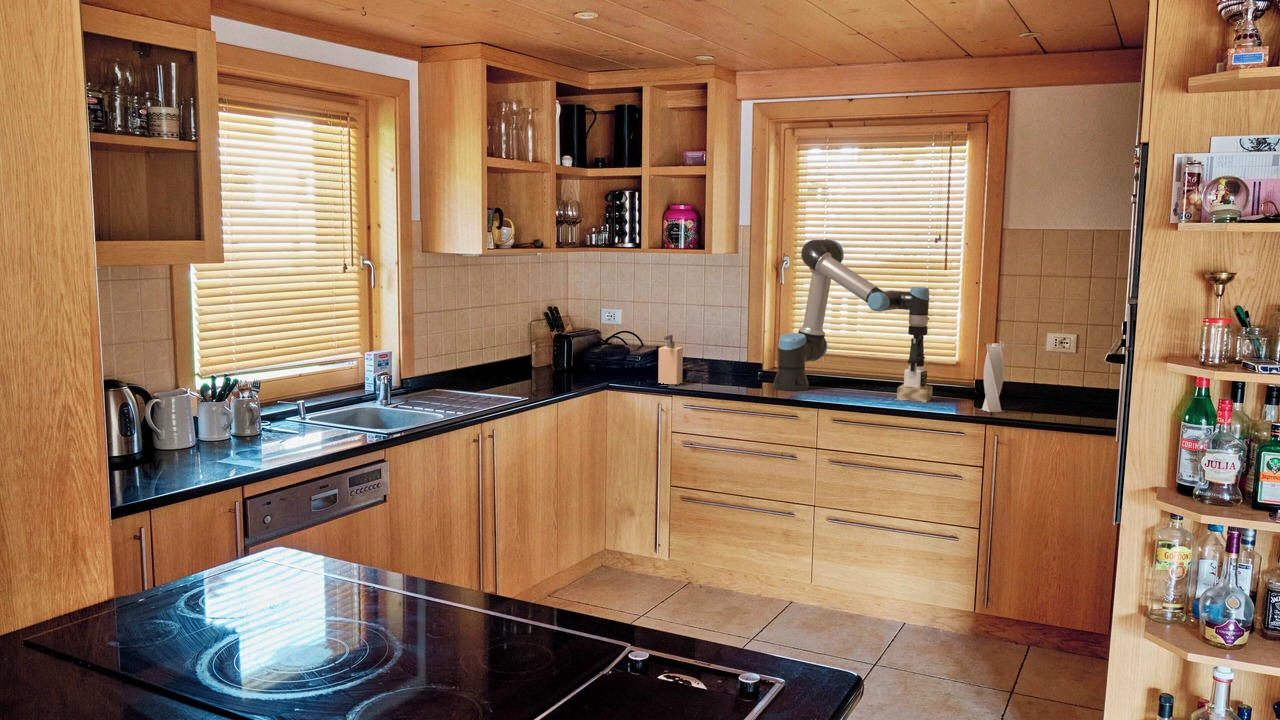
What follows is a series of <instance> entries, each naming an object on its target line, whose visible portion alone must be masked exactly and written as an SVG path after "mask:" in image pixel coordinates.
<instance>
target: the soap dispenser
mask: <svg viewBox="0 0 1280 720" xmlns="http://www.w3.org/2000/svg"><path fill="white" fill-rule="evenodd" d="M673 338H674V337H673V334H668V335H664V337H663V340H664V341H667V345H664V346H660V347H658V371H657V372H658V374H657V375H658V379H657V380H658V381H657V382H658V383H661V384H663V383H664V384H679V383H682V384H683V358H684V354H683V353H684V347H682V346H675V341H674V340H673ZM658 383H657V384H658Z"/></svg>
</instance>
